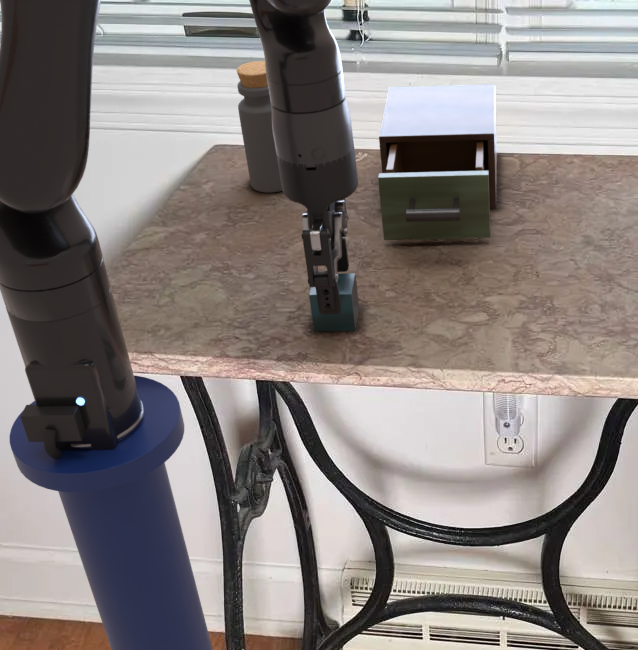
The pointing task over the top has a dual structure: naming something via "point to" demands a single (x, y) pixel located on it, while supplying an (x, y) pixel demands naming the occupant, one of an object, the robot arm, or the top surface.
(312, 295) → the block
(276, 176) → the bottle
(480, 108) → the cabinet
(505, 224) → the top surface
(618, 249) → the top surface
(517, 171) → the top surface
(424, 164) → the drawer
